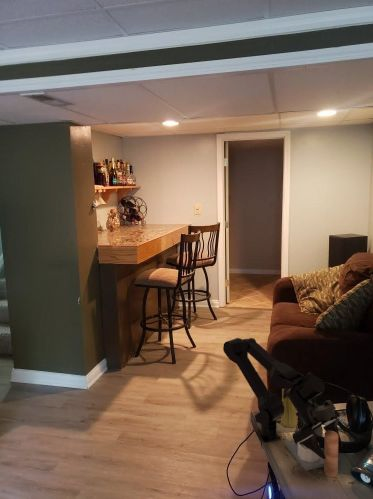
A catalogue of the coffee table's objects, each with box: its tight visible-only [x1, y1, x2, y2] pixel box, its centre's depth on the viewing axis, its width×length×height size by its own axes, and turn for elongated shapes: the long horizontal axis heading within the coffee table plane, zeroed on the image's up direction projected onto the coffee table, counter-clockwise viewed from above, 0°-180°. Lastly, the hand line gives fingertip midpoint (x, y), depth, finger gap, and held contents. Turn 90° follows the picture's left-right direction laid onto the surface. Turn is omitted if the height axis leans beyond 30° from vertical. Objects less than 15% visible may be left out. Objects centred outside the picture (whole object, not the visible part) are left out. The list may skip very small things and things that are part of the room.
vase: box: [280, 388, 298, 428], centre depth 149 cm, size 6×6×14 cm
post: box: [323, 431, 339, 478], centre depth 122 cm, size 4×4×13 cm
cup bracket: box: [284, 440, 324, 472], centre depth 131 cm, size 13×9×5 cm
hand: (333, 452), depth 121 cm, fingers open, 9 cm apart
